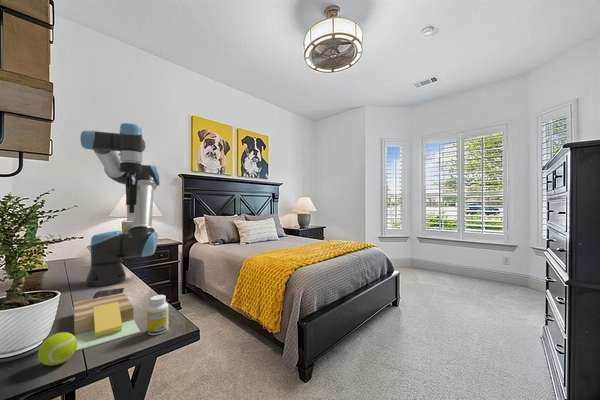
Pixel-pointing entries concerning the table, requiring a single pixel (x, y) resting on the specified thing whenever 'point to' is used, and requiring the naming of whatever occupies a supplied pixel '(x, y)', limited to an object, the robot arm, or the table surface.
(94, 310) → the yellow sticky note pad
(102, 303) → the deck
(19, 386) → the table surface
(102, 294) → the chocolate bar
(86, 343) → the mat
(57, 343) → the tennis ball
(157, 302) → the supplement bottle
